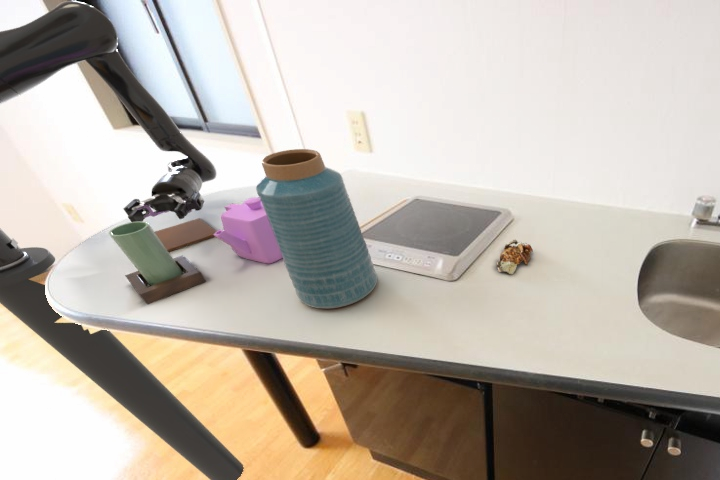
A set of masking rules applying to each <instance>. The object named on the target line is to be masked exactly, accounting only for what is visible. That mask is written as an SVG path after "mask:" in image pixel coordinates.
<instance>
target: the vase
mask: <svg viewBox="0 0 720 480" xmlns="http://www.w3.org/2000/svg"><path fill="white" fill-rule="evenodd" d="M261 165H262V168H263V172H264V173H265V176H264V177H263V178H261V180H260V181H259V182H257V184H256V187H255V189H256V194H257V195H258V197H259V198H260V201H261V202H262V205H263V207H264V211H265V212H266V216H267V218H268V221H269V224H270V226H271V229H272V231H273V234H274V236H275V239H276V241H277V244H278V246H279V249H280V251H281V254H282V257H283V258H282V259H283V263H284V265H285V268H286V271H287V273H288V277H289V279H290V280H291V283H292V286H293V288H294V291H295V293H296V296H297V298H298V299H299V301H300V302H302V303H303V304H305V305H306V306H307V307H308V306H309V307H310V308H311V307H312V308H316V309H339V308H343V307H347V306H350V305H353V304H355V303H358V302H359V301H361V300H362V299H364V298H365V297H367V296H369V294H371V293H372V292H373V290H374V289H375V287H376V285H377V283H378V275H377V271H376V269H375V268H374V263H373V261H372V256H371V254H370V252H369V248H368V246H367V243H366V241H365V238H364V236H363V233H362V230H361V228H360V227H361V226H360V224H359V221H358V219H357V215H356V213H355V210H354V206H353V204H352V202H351V199H350V196H349V193H348V190H347V188H346V183H345V182H344V178H343V175H342V174H341V173H340V172H339V171H338V170H335V169H333V168H330V167H329V166H326V165H325V163H324V160H323V157H322V155H321V153H320V152H319V151H317V150H315V149H310V148H309V149H308V148H307V149H306V148H297V149H288V150H287V149H286V150H281V151H277V152H273V153H271V154H268V155H266V156H264V157H263V158H262V159H261Z"/></svg>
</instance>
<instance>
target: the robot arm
mask: <svg viewBox="0 0 720 480" xmlns="http://www.w3.org/2000/svg"><path fill="white" fill-rule="evenodd" d="M118 35H119V34H118V32H117V30H116V27H115V25H114V23H113V22H112V21H111V20H110V18H108V16H107V15H105V14H104V13H103V12H102V11H100V10H99V9H97V8H96V7H94V6H92V5H90V4H88V3H85V2H82V1H77V0H64V1H61V2H60V3H57V4H56V5H55V6H54V7H53V8H52V9H51V10H50V11H48V12H46V13H45V14H43V15H40V16H38V18H36V19H34V20H32V21H30V22H28V23H25V24H24V25H21V26H18V27H14V28H11V29H6V30H1V31H0V105H2V104H4V103H6V102H9V101H12V100H14V99H15V98H17V97H19V96H21V95H23V94H25V93H27V92H29V91H31V90H32V89H34V88H36V87H38V86H39V85H41V84H43V83H44V82H46V81H47V80H49V79H50V78H51V77H53V76H54V75H55V74H57V73H58V72H60V71H62V70H63V69H65V68H68V67H70V66H72V65H75V64H78V63H82V62H86V63H87V65H89V66H90V67H91V68H92V69H93V70H94V71H95V73H96V74H98V76H99V77H100V78H101V80H103V81H104V82H105V83H106V84H107V86H108V87H109V88H110V90H111V91H112V92H113V93H114V94H115V96H116V97H117V98H118V99H119V100H120V102H121V103H122V104H123V105H124V107H125V108H126V109H127V111H128V113H130V114H131V116H132V117H133V119H135V121H136V122H137V123H138V125H139V126H140V127H141V129H143V131H144V133H146V136H148V137H149V139H150V140H151V141H152V142H153V144H154V145H155V146H156V147H157V149H159V150H160V151H162V152H165V153H167V152H168V153H169V152H170V153H171V152H176V153H181V154H182V155H183V156H184V157H180V158H177V159H174V160H172V161H170V162H168V163H167V173H166V174H164V175H163V176H161V177H160V178H159V180H157V182H155V184H154V185H153V186H152V188H151V196H150V197H148V198H147V199H145V200H142V201H140V199H139V198H134V199H133V200H131V201H129V203H127V204H126V206H124V207H123V208H122V210H123V211H124V212H125V213H126V215H127V218H128V219H129V221H130V222H138V221H143V222H144V220H145V219H146V218H148V217H154V218H155V217H157V216H159V215H162V214H163V213H164V214H165V213H169V212H172V213H175V215H176V216H177V218H178V219H179V220H182V219H185V217H186V216H188V214H189V213H192V212H193V210H195V212H196V211H201V210H202V208H203V206H204V203H205V200H204V198H203V197H202V195H201V193H200V190H201V189H202V186H203V183H206V182H210V181H213V180H215V179H217V169H216V167H215V165H214V164H213V162H212V161H211V160H210V159H209V158H208V157H207V156H206V155H205V154H204V153H202V152H201V151H200V150H199V149H198V148H197V147H196V146H195V145H193V143H192V142H191V141H190V140H188V139H187V137H186V136H185V135H184V134H183V132H182V131H181V130H180V129H179V127H178V126H177V124H176V123H175V121H174V120H173V118H172V117H171V116H170V115H169V114H168V113H167V111H166V110H165V108H163V106H162V105H161V104H160V103H159V101H158V100H156V98H154V96H153V95H152V94H151V93H150V92H149V91H148V90H147V88H146V87H145V86H143V84H142V83H141V82H140V81H139V79H138V78H137V77H136V76H135V74H134V73H133V72H132V70H131V69H130V68H129V66H128V65H127V63H126V62H125V60H124V59H123V57H122V56H121V54H120V52H119V51H118V49H117V47H118V45H119V36H118ZM153 210H154V211H153ZM144 212H145V213H144ZM18 244H19V242H17V241H16V239H14V238H11V237H10V236H9V235H8V234H7V233H6V232H5V231H4V230H3V229H2V228H1V227H0V272H3V271H7V270H10V269H12V268H15V267H17V266H19V265H21V264H23V263H25V262H26V261H27V260H28V259H29V255H28V254H27V253H26V252H24V251H23V250H22V249H21V247H20V246H19V245H18Z"/></svg>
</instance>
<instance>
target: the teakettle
mask: <svg viewBox="0 0 720 480" xmlns="http://www.w3.org/2000/svg"><path fill="white" fill-rule="evenodd" d="M224 209H225V211H224V212H223V213H221V214H220V220H221V224H222V227H223V229H218V230H216V231H217V232H216V233H214V234H213V235H214V238H215V237H216V238H217V239H219V240H221V241H222V242H224V243H225V244H227V245H229V246H230V247H231V249H232V250H233V252H234V253H235V254H236V255H238V257H240V258H243V259H247V260H250V261H253V262H259V263H263V264H269V265H270V264H273V263H275V262H278V261H279V260H282V259H283V257H282V254H281V251H280V249H279V246H278V244H277V241H276V239H275V236H274V234H273V231H272V229H271V226H270V224H269V221H268V218H267V216H266V212H265V211H264V207H263V205H262V202H261V201H260V198H259V196H258V197H250V198H247V199H245V200H244V202H243V203H241V204H239V203H230V204H228V205H225V206H224Z"/></svg>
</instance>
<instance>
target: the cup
mask: <svg viewBox="0 0 720 480" xmlns="http://www.w3.org/2000/svg"><path fill="white" fill-rule="evenodd" d="M155 232H156V231H154V229H153V228H152V226H151V225H150V223H148V221H144V220H143V221H138V222H131V221H130V222H126V223H123V224H120V225H117V226H115V227H112V228H111V229H110V230H109V231H108V235H109V236H110V237H111V238H112V240H113V241H114V243H115V244H116V245H117V246H118V247H119V248H120V250H121V251H122V252H123V254H125V256H126V257H127V258H128V259H129V261H130V263H132V264H133V266H134V267H135V268H136V270H137V271H139V272H140V273H141V275H142V276H143V277H144V278H145V280H146V281H147V282H148V283H147V284H148V285H149V287H150V286H153V285H156V284H158V283H161V282H164V281H166V280H169V279H172V278H174V277H177V276H180V275H182V274H185V272H183V270H182V271H181V269H180V268H179V266H178V265H177V263H176V262H175V261H174V259H173V256H172V255H171V254H170V252H168V251H167V249H166V248H165V246H164V245H163V244H162V242H161V241H160V239H159V238H158V237H157V235H156V234H155Z"/></svg>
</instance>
